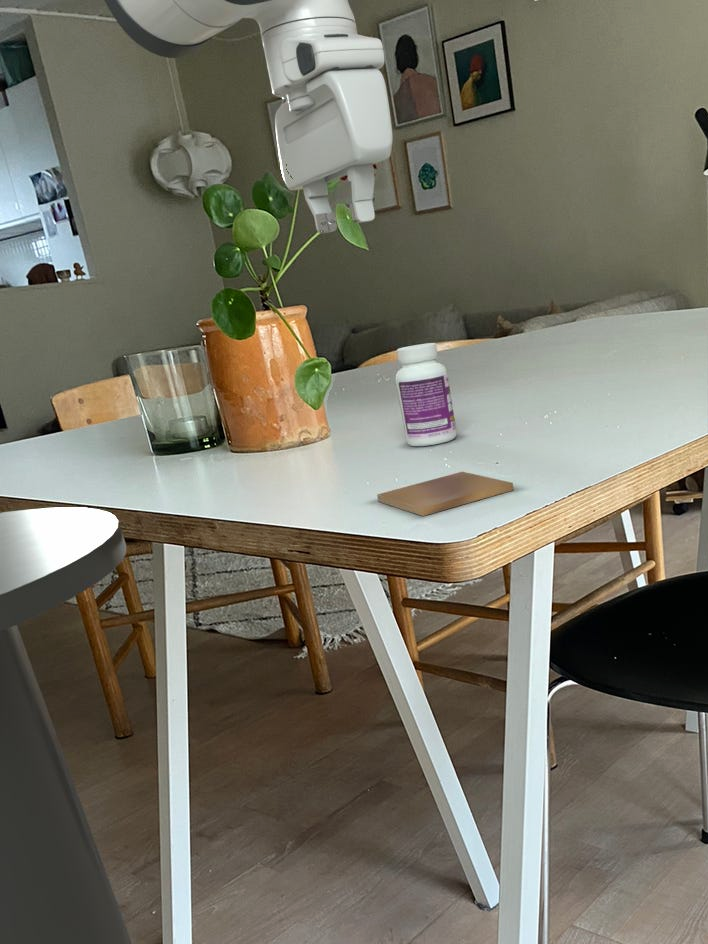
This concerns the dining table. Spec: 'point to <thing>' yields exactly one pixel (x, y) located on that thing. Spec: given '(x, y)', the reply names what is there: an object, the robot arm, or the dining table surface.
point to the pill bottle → (424, 396)
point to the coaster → (444, 493)
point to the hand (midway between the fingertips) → (345, 227)
